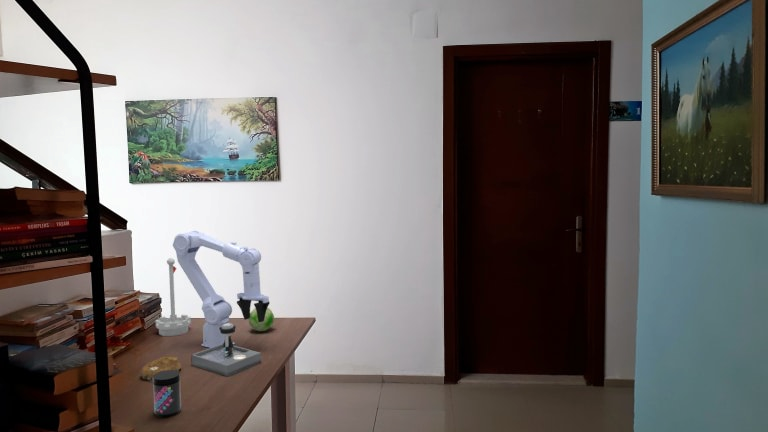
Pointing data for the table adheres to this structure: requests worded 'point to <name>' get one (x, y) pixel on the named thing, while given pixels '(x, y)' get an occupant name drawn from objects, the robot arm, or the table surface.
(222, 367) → the scale housing
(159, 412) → the supplement container
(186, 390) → the table surface
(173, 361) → the decorative rock
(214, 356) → the weighing pan
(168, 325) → the flag stand
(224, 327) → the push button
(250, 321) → the decorative ball
